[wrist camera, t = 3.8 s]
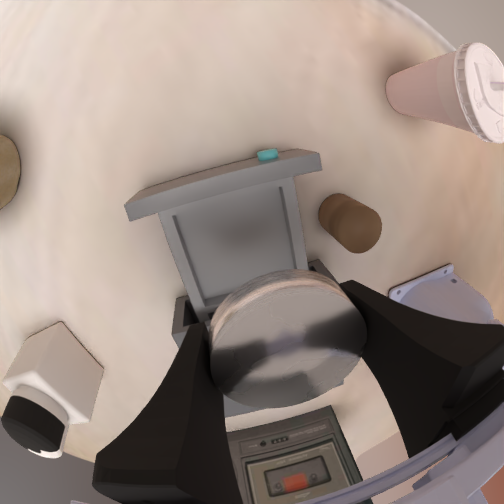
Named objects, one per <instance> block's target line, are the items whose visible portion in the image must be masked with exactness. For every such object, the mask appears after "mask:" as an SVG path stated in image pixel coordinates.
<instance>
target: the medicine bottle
mask: <svg viewBox="0 0 504 504" xmlns="http://www.w3.org/2000/svg"><path fill="white" fill-rule="evenodd" d="M103 373H104V369H103V368H102V367H101V366H100V365H99V364H98V363H97V362H96V361H95V359H94V358H93V357H92V356H91V355H90V354H89V353H88V352H87V351H86V350H85V349H84V347H83V346H82V345H81V344H80V343H79V342H78V341H77V339H76V338H75V337H74V336H73V335H72V334H71V332H70V331H69V330H68V329H67V328H66V326H65V325H64V324H63V323H62V322H59V323H57V324H55V325H53V326H51V327H49V328H47V329H45V330H43V331H41V332H39V333H37V334H35V335H33V336H31V337H29V338H27V339H26V341H25V342H24V344H23V346H22V347H21V349H20V351H19V352H18V354H17V356H16V357H15V359H14V361H13V363H12V364H11V366H10V368H9V370H8V372H7V374H6V375H5V377H4V379H3V384H4V385H5V386H6V387H7V388H8V389H9V390H10V391H11V392H12V395H11V397H10V399H9V402H8V404H7V406H6V408H5V411H4V413H3V416H2V418H1V421H2V425H3V427H4V428H5V430H6V431H7V433H8V434H9V435H10V436H11V437H12V438H13V439H14V440H15V441H16V442H17V443H19V444H20V445H21V446H23V447H24V448H26V449H28V450H29V451H31V452H33V453H35V454H37V455H40V456H43V457H47V458H58V457H60V456H61V455H62V452H63V447H64V443H65V439H66V435H67V432H68V428H69V425H70V424H79V423H87V422H90V420H91V416H92V412H93V408H94V404H95V401H96V397H97V393H98V390H99V386H100V383H101V379H102V376H103Z"/></svg>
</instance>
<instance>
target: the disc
mask: <svg viewBox="0 0 504 504" xmlns="http://www.w3.org/2000/svg"><path fill="white" fill-rule="evenodd" d="M366 340H367V328H366V323H365V321H364V318H363V316H362V315H361V313H360V312H359V311H358V309H357V308H356V307H355V306H354V304H353V303H352V302H351V300H350V299H349V298H348V297H347V295H346V294H345V293H344V292H343V290H342V289H341V288H340V287H339V286H338V285H337V284H336V283H335V282H334V281H333V280H331V279H330V278H328V277H327V276H325V275H322V274H320V273H317V272H314V271H310V270H303V269H286V270H279V271H274V272H269V273H266V274H263V275H260V276H258V277H256V278H254V279H251V280H249V281H247V282H246V283H244V284H242V285H241V286H239V287H238V288H237V289H235V290H234V291H233V292H231V293H230V294H229V295H228V296H227V297H226V298H225V299H224V300H223V302H222V303H221V304H220V306H219V307H218V308H217V310H216V312H215V314H214V315H213V318H212V320H211V323H210V328H209V353H210V369H211V375H212V378H213V381H214V383H215V385H216V386H217V388H218V389H219V390H220V391H221V392H222V393H223V394H224V395H225V396H227V397H228V398H230V399H231V400H233V401H235V402H237V403H240V404H243V405H246V406H250V407H256V408H281V407H288V406H293V405H296V404H300V403H303V402H306V401H309V400H311V399H314V398H316V397H318V396H320V395H322V394H324V393H325V392H327V391H329V390H330V389H332V388H333V387H335V386H336V385H337V384H339V383H340V382H341V381H342V380H343V379H344V378H345V377H346V376H347V375H348V374H349V373H350V372H351V371H352V370H353V368H354V367H355V366H356V365H357V363H358V361H359V360H360V358H361V356H362V354H363V352H364V349H365V345H366Z"/></svg>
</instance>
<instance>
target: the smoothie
mask: <svg viewBox="0 0 504 504" xmlns="http://www.w3.org/2000/svg"><path fill="white" fill-rule="evenodd" d="M386 95H387V98H388V101H389V103H390V104H391V106H392V107H393V108H394V109H395V110H396V111H397V112H399V113H401V114H404V115H409V116H414V117H418V118H423V119H427V120H431V121H435V122H439V123H443V124H446V125H450V126H453V127H457V128H460V129H463V130H466V131H469V132H473V133H475V134H476V135H477V137H478V138H480V139H481V140H483V141H485V142H493V143H503V142H504V66H503V64H502V63H501V61H500V60H499V58H498V57H497V55H496V54H495V53H494V52H493V51H492V50H491V49H490V48H489V47H487V46H486V45H484V44H482V43H464V44H462V45H461V46H460V47H459V48H458V50H457V51H455V52H451V53H448V54H445V55H442V56H439V57H437V58H434V59H431V60H428V61H426V62H423V63H420V64H418V65H415V66H412V67H410V68H407V69H405V70H402V71H400V72H397V73H395V74H393V75H391V76H390V77H389V78H388V80H387V83H386Z"/></svg>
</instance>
